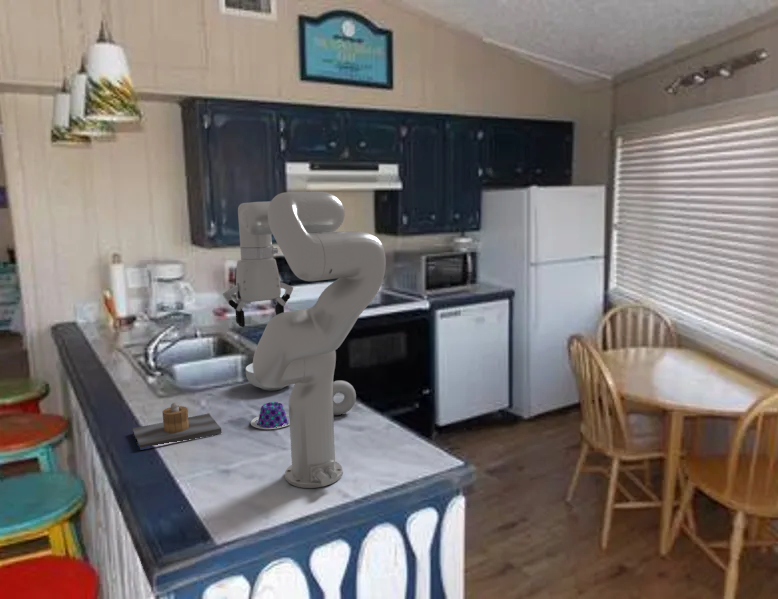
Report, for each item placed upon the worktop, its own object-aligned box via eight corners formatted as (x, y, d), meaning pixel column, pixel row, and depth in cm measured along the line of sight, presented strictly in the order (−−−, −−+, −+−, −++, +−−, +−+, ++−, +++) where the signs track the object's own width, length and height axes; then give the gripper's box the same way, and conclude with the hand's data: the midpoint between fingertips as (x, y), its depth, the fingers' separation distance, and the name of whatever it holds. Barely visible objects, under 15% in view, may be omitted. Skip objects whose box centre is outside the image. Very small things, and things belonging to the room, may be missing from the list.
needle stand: (221, 433, 160) (219, 402, 159) (140, 451, 150) (137, 418, 149) (209, 418, 171) (207, 389, 170) (132, 433, 161) (129, 403, 160)
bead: (190, 429, 159) (189, 411, 159) (166, 434, 156) (165, 415, 156) (185, 422, 164) (184, 404, 164) (162, 427, 161) (160, 409, 161)
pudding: (250, 418, 172) (249, 400, 171) (293, 413, 175) (292, 395, 174) (251, 434, 160) (250, 414, 159) (297, 428, 163) (296, 410, 162)
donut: (323, 419, 169) (322, 384, 167) (320, 415, 172) (319, 381, 170) (358, 414, 172) (357, 380, 170) (354, 410, 175) (353, 376, 174)
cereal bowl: (246, 397, 189) (244, 375, 187) (247, 381, 205) (245, 361, 204) (301, 392, 192) (300, 370, 191) (298, 377, 208) (297, 357, 207)
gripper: (285, 250, 155) (288, 316, 158) (216, 255, 146) (221, 325, 149) (296, 252, 148) (299, 321, 151) (225, 258, 140) (230, 330, 143)
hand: (260, 323), depth 150 cm, fingers open, 9 cm apart
